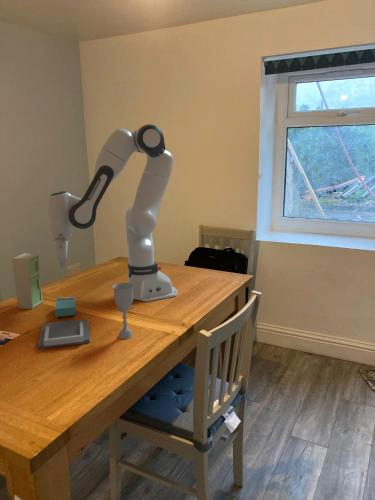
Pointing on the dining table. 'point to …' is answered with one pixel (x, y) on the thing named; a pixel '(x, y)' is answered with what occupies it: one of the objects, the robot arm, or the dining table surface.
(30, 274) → the toy refrigerator
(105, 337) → the dining table surface
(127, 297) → the chalice
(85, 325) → the loading dock
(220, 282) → the dining table surface
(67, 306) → the teal handled box
